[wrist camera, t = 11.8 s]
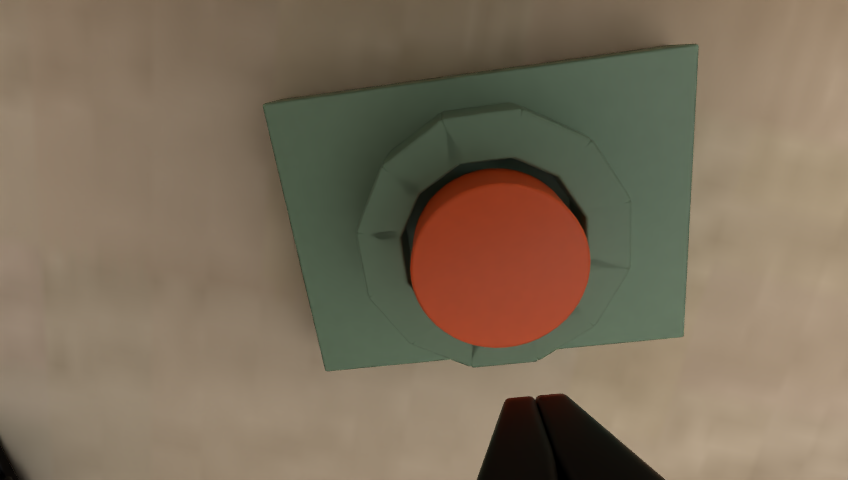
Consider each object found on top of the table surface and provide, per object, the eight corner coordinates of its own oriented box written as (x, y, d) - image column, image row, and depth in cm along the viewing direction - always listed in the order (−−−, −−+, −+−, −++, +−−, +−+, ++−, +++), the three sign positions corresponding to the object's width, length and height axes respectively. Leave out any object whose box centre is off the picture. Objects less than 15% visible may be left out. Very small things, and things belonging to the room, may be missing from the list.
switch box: (334, 345, 19) (312, 406, 15) (279, 99, 16) (236, 110, 12) (662, 312, 18) (713, 370, 14) (671, 44, 15) (738, 41, 11)
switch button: (424, 323, 15) (422, 357, 13) (402, 178, 13) (397, 195, 11) (575, 307, 14) (593, 340, 13) (570, 157, 13) (590, 171, 11)
